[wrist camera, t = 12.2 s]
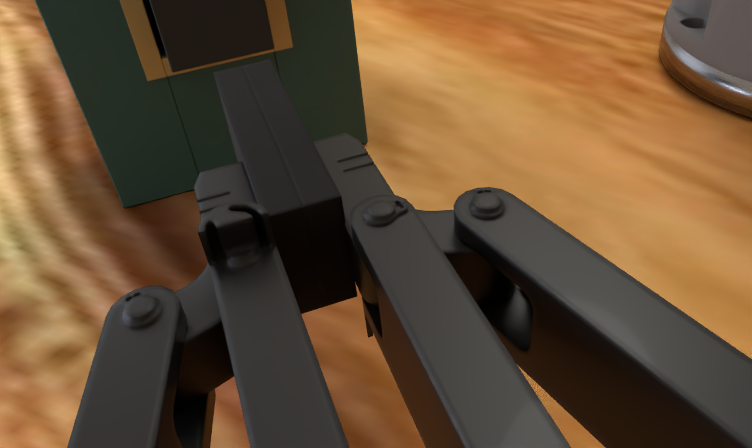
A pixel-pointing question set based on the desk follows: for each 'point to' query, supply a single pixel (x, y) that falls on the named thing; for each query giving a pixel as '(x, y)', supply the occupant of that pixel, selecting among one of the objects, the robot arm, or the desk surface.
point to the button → (211, 30)
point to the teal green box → (194, 87)
